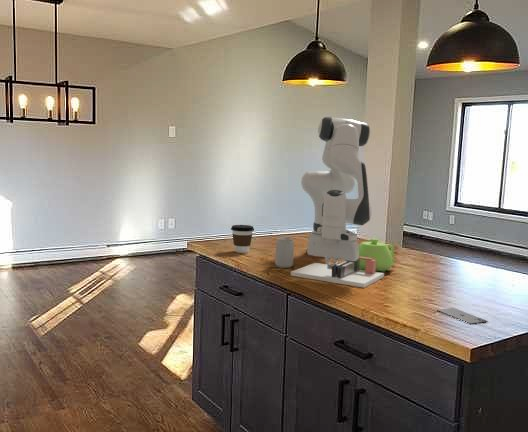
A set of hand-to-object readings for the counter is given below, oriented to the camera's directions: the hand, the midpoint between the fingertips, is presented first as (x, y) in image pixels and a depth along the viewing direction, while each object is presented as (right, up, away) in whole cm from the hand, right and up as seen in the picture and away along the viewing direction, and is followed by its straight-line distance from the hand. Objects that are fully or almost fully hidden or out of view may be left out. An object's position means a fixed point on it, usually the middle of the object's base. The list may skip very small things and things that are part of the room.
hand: (331, 269), depth 216 cm
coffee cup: (-36, +3, +49) cm, 61 cm away
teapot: (+18, -2, +20) cm, 27 cm away
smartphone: (+35, -11, -42) cm, 56 cm away
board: (+3, -3, +6) cm, 7 cm away
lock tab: (+15, -2, +8) cm, 17 cm away
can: (-17, -1, +20) cm, 27 cm away
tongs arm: (+4, -2, +2) cm, 5 cm away
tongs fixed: (+6, -2, +4) cm, 7 cm away
